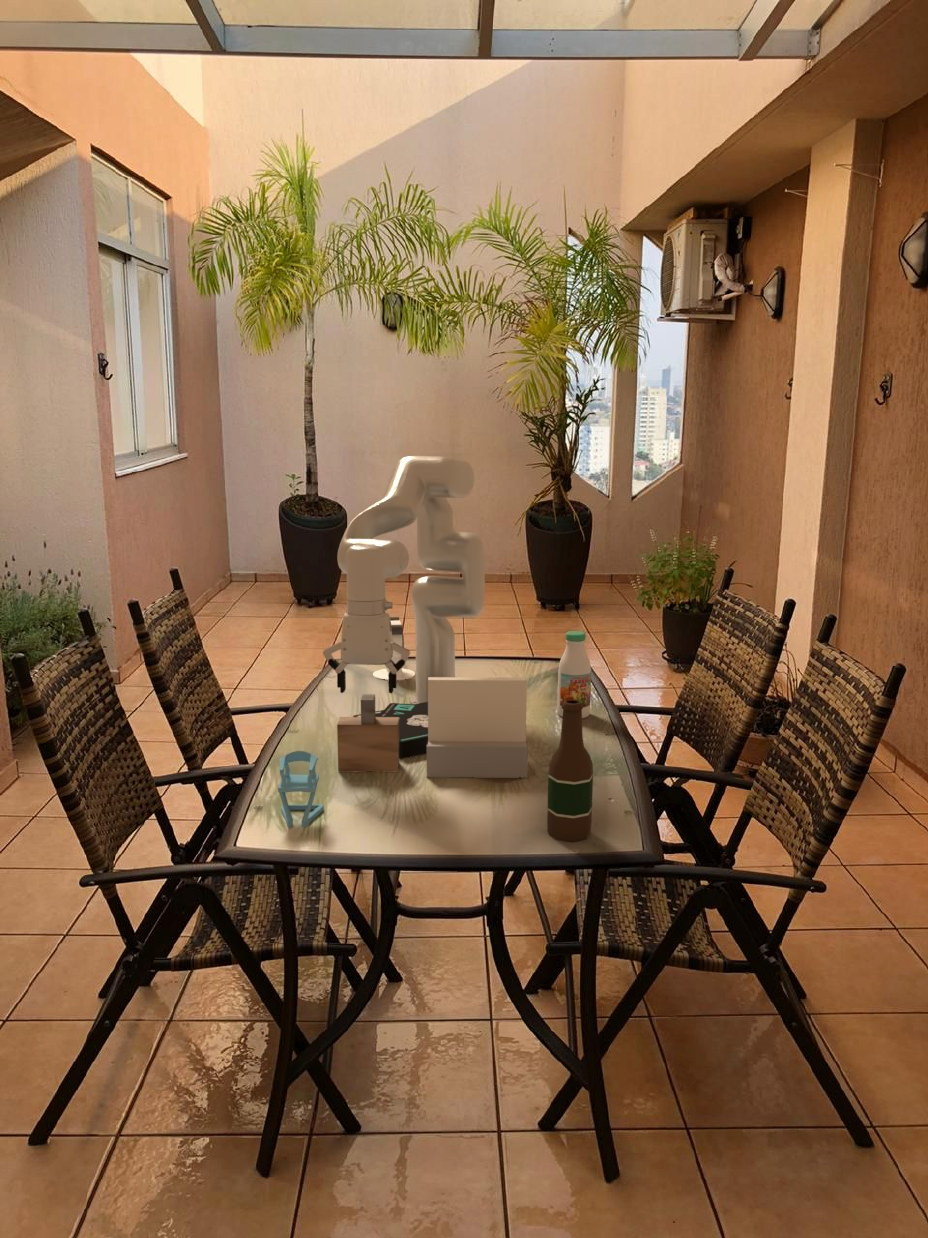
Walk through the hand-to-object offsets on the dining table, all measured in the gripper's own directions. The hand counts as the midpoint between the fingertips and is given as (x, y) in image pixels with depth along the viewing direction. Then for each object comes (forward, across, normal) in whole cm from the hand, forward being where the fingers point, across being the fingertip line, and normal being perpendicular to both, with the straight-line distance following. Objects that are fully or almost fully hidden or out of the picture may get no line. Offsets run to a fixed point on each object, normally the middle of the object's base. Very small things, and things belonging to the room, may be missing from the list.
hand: (367, 691), depth 213 cm
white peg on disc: (+15, 0, -71) cm, 72 cm away
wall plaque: (+16, -9, -21) cm, 28 cm away
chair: (+17, +10, +25) cm, 32 cm away
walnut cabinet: (+16, 0, -1) cm, 16 cm away
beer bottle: (+17, -38, +31) cm, 52 cm away
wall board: (+16, -22, 0) cm, 27 cm away
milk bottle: (+16, -45, -37) cm, 60 cm away
